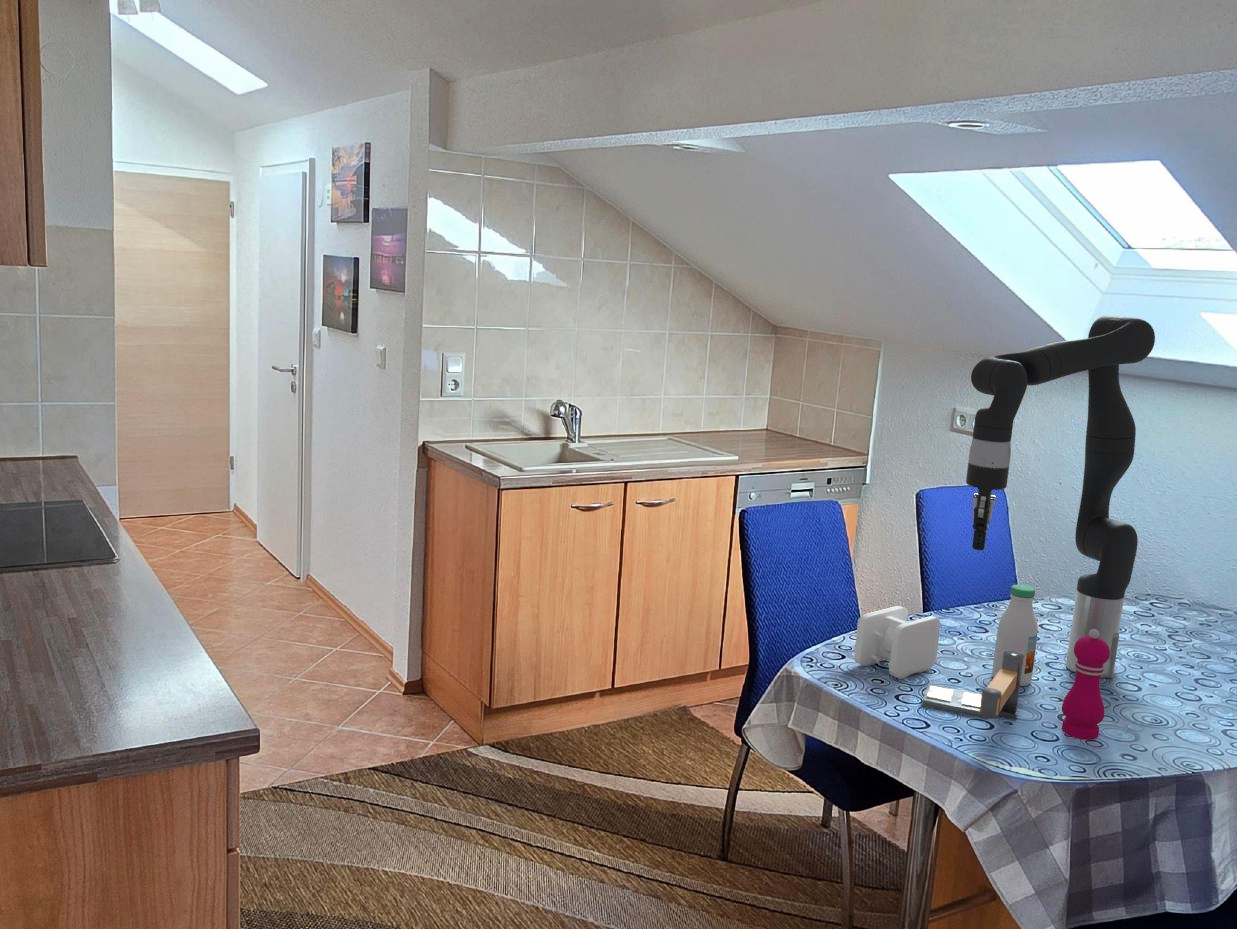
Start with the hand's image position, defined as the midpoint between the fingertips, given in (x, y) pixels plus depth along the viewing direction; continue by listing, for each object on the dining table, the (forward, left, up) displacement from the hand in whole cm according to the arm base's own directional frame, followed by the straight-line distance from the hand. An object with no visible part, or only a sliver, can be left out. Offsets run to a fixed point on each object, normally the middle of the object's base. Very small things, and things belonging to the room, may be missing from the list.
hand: (978, 548), depth 206 cm
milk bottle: (-9, -10, -29) cm, 32 cm away
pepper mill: (-22, +11, -29) cm, 38 cm away
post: (-9, +9, -29) cm, 32 cm away
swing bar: (-7, +19, -23) cm, 31 cm away
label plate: (0, +9, -29) cm, 30 cm away
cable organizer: (+14, -4, -29) cm, 33 cm away
